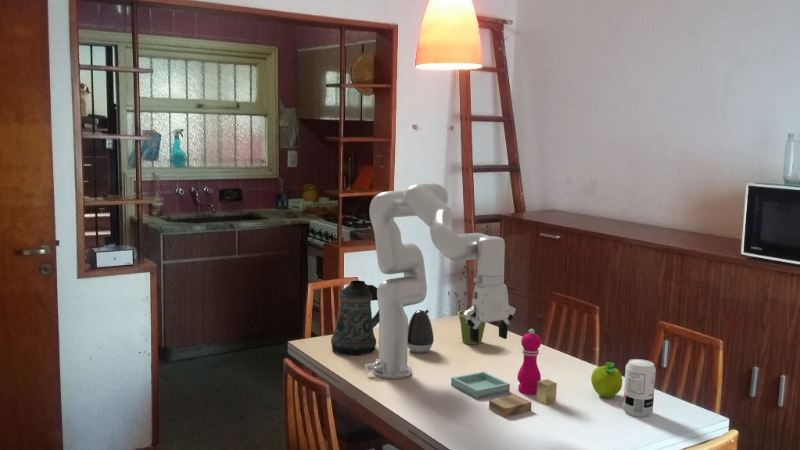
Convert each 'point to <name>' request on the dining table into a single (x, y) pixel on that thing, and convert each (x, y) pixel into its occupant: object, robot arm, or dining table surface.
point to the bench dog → (546, 391)
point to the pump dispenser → (420, 332)
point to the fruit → (606, 380)
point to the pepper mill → (529, 364)
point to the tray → (480, 384)
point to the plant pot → (466, 329)
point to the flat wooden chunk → (510, 405)
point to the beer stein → (355, 320)
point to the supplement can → (639, 388)
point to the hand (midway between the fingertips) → (488, 339)
